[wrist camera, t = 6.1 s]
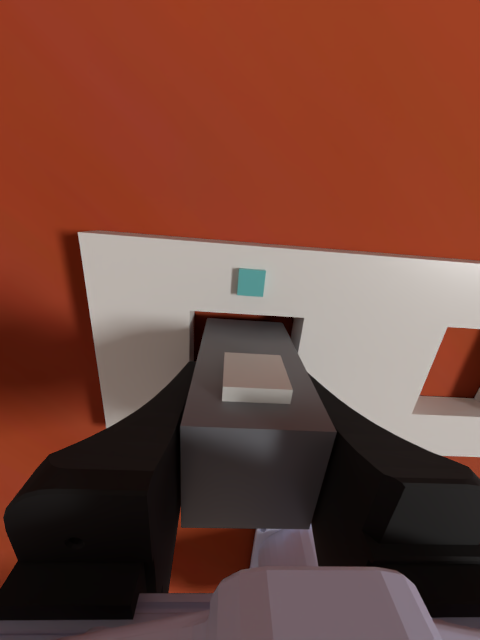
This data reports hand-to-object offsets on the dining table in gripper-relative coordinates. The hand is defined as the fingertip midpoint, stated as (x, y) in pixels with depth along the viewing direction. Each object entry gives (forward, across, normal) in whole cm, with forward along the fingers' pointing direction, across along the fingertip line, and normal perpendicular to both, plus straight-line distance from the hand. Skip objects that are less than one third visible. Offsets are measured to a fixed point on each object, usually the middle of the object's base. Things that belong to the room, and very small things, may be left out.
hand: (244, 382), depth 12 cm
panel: (+3, -6, 0) cm, 7 cm away
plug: (+2, 0, 0) cm, 3 cm away
